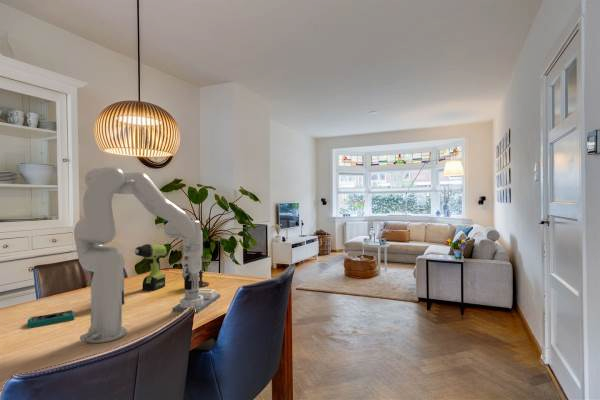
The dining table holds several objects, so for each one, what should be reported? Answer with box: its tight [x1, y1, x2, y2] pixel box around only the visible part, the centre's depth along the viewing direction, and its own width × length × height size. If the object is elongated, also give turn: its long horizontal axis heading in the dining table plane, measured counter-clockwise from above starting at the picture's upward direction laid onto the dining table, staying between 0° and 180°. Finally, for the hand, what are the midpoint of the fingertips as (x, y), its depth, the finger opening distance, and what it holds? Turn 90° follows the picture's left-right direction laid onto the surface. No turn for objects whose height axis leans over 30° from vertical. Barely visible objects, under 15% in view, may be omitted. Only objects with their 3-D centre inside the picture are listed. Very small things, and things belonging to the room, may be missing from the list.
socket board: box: [172, 288, 221, 314], centre depth 154 cm, size 24×12×4 cm, turn 171°
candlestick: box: [199, 224, 212, 288], centre depth 188 cm, size 11×11×35 cm
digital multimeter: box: [26, 310, 75, 329], centre depth 131 cm, size 7×15×3 cm, turn 128°
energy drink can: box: [184, 271, 200, 300], centre depth 148 cm, size 6×6×15 cm
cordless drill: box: [133, 243, 167, 292], centre depth 177 cm, size 23×7×25 cm, turn 167°
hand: (191, 287), depth 148 cm, fingers closed on energy drink can, 6 cm apart
